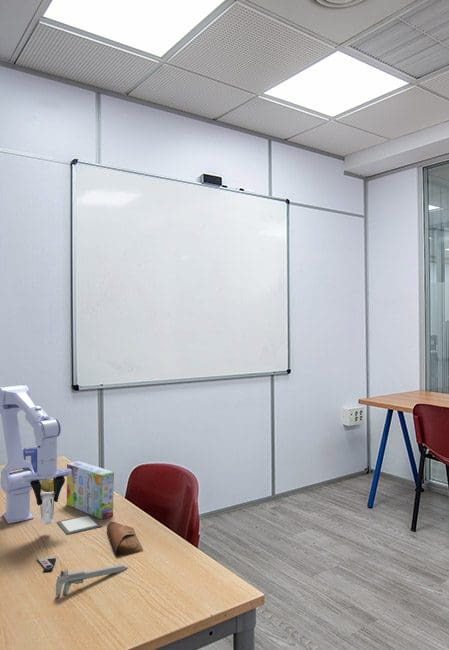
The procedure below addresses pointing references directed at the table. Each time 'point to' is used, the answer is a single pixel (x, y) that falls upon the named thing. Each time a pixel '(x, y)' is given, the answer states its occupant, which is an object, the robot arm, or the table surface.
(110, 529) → the sunglasses case
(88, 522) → the mat
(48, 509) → the milkshake
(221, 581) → the table surface
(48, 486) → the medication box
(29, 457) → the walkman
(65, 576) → the caliper
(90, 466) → the snack box
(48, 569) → the usb flash drive
